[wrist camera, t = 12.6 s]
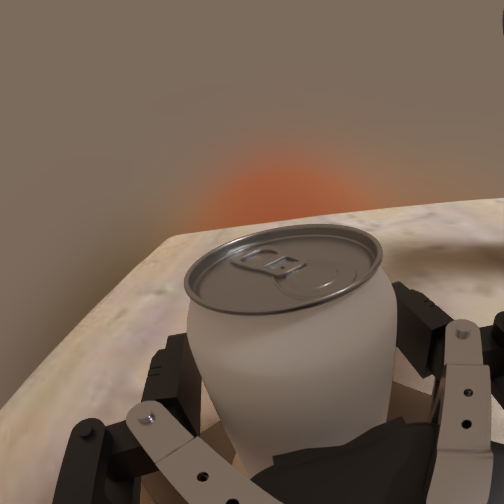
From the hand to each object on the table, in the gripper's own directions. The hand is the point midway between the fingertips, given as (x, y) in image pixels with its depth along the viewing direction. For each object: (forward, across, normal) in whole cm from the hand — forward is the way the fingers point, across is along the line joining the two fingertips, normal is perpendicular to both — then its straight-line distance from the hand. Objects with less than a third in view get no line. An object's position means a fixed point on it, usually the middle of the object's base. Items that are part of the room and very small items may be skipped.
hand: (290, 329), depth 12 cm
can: (-2, 0, +8) cm, 9 cm away
